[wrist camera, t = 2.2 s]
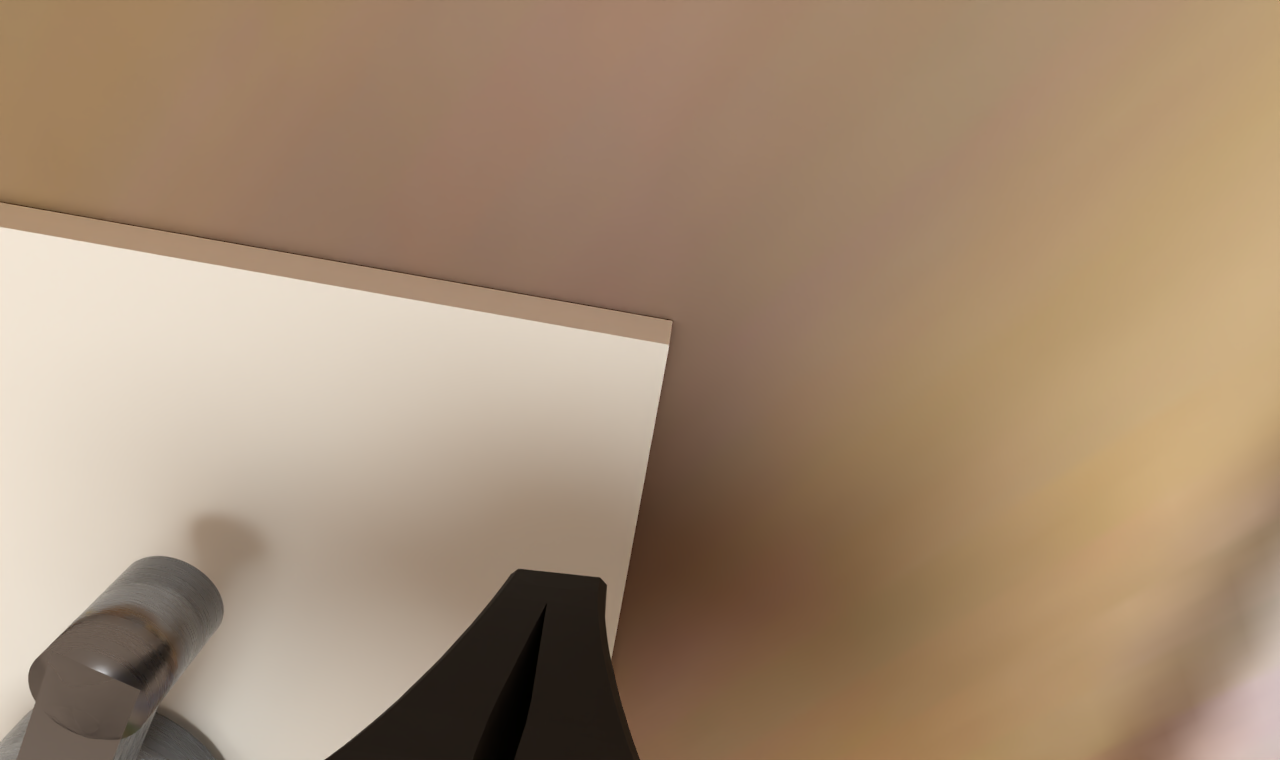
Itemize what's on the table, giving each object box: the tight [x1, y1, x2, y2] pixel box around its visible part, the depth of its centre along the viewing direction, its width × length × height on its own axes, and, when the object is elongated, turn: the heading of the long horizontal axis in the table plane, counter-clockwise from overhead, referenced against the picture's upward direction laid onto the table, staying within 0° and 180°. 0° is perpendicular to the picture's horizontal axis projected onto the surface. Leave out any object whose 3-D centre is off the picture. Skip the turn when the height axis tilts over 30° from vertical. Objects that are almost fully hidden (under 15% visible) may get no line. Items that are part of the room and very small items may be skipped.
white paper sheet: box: [0, 202, 673, 760], centre depth 17 cm, size 18×16×2 cm
